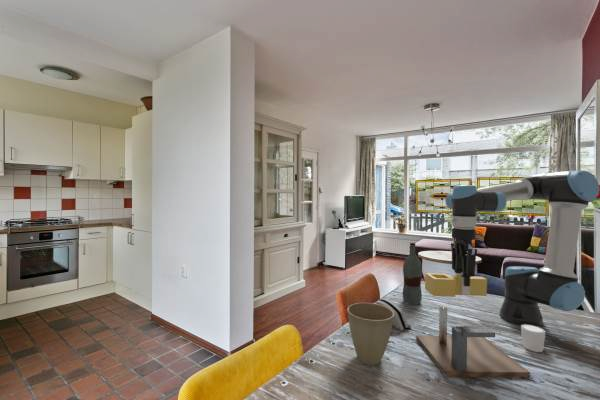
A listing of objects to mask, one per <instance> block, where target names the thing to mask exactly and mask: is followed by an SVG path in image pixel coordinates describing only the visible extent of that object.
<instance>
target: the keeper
mask: <svg viewBox="0 0 600 400" xmlns="http://www.w3.org/2000/svg"><path fill="white" fill-rule="evenodd" d="M451 336H452V355H451V365H452V367H453V368H454V369H455V370H456V371H467V337H485V338H496V332H495V331H494V330H492V329H491V328H490V327H488V326H476V325H475V326H473V325H471V326H469V325H468V326H464V325H461V326H460V325H459V326H458V325H456V326H452V327H451Z"/></svg>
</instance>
